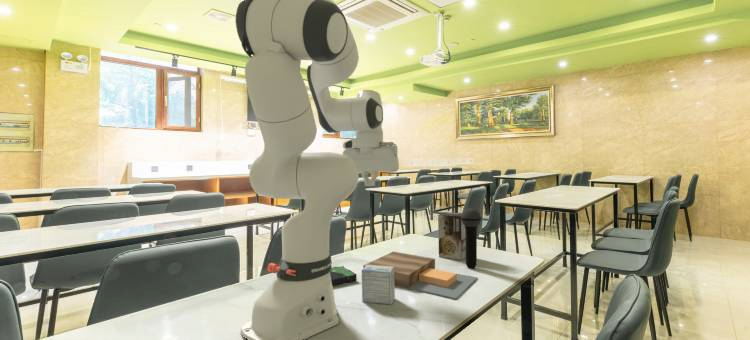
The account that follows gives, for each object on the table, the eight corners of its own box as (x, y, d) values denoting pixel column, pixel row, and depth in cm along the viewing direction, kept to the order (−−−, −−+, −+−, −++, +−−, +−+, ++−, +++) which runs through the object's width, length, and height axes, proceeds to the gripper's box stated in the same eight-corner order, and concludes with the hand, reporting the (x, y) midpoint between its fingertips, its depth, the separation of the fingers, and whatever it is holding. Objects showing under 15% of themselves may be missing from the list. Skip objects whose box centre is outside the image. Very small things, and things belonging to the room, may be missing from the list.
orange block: (447, 287, 97) (447, 280, 97) (419, 281, 102) (418, 274, 102) (456, 280, 103) (456, 273, 102) (429, 274, 108) (429, 268, 108)
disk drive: (311, 294, 96) (357, 282, 104) (310, 284, 96) (357, 273, 104) (299, 282, 105) (342, 272, 113) (298, 273, 105) (342, 264, 113)
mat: (455, 299, 90) (455, 298, 90) (408, 288, 97) (408, 287, 97) (477, 278, 104) (477, 277, 104) (435, 270, 112) (435, 269, 112)
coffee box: (467, 256, 128) (467, 213, 127) (461, 260, 123) (461, 216, 122) (444, 252, 133) (443, 211, 132) (437, 256, 127) (437, 214, 127)
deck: (408, 288, 97) (408, 274, 97) (363, 278, 106) (363, 265, 106) (435, 270, 112) (434, 258, 112) (393, 262, 121) (393, 251, 121)
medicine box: (395, 298, 91) (394, 266, 91) (391, 305, 87) (390, 271, 86) (366, 295, 93) (366, 264, 93) (361, 302, 89) (361, 269, 89)
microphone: (481, 271, 111) (481, 210, 110) (460, 270, 112) (460, 209, 112) (481, 265, 117) (481, 207, 116) (461, 264, 119) (461, 206, 118)
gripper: (402, 141, 106) (402, 186, 107) (351, 144, 118) (351, 184, 118) (391, 141, 101) (392, 187, 101) (339, 143, 113) (339, 185, 113)
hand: (369, 185), depth 110 cm, fingers closed
